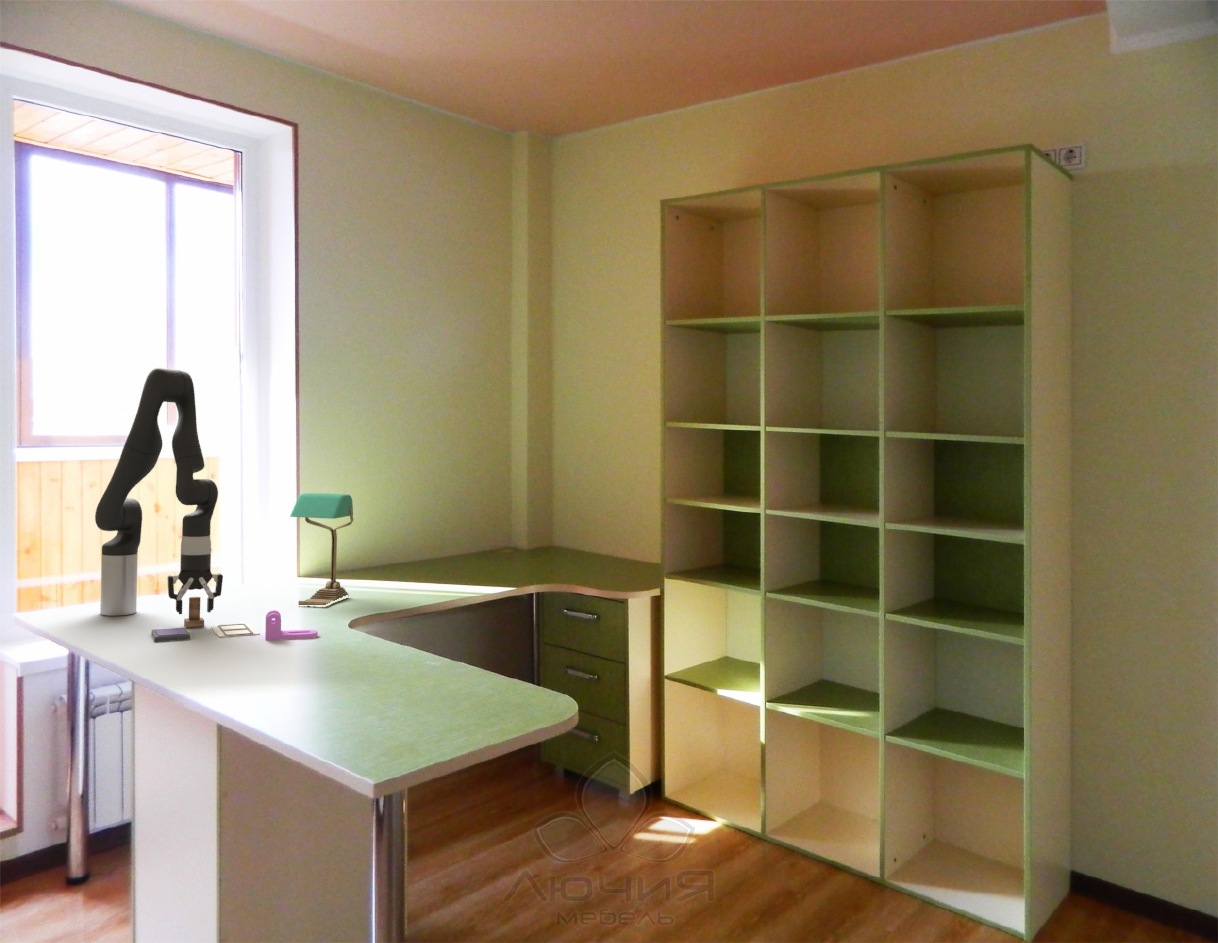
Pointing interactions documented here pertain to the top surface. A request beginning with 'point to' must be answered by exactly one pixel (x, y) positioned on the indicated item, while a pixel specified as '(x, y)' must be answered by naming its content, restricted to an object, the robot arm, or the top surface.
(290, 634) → the bracket
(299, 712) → the top surface
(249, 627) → the sheet
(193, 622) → the stamp
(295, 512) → the banker's lamp
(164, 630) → the ink pad
